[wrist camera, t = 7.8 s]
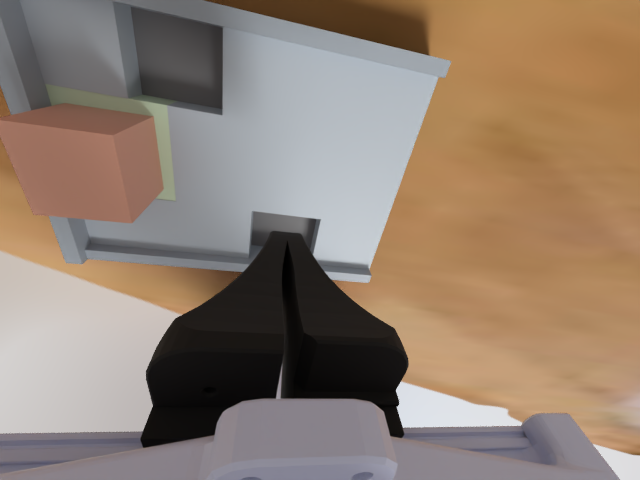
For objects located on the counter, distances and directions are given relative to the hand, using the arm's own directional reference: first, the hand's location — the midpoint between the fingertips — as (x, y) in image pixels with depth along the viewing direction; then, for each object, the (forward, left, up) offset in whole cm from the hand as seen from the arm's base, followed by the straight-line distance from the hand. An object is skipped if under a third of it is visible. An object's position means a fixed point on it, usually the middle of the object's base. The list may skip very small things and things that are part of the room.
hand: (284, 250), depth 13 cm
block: (+1, +10, -8) cm, 13 cm away
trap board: (+1, +3, -10) cm, 10 cm away
